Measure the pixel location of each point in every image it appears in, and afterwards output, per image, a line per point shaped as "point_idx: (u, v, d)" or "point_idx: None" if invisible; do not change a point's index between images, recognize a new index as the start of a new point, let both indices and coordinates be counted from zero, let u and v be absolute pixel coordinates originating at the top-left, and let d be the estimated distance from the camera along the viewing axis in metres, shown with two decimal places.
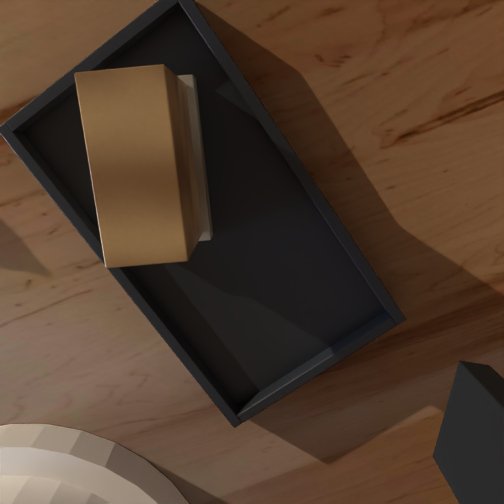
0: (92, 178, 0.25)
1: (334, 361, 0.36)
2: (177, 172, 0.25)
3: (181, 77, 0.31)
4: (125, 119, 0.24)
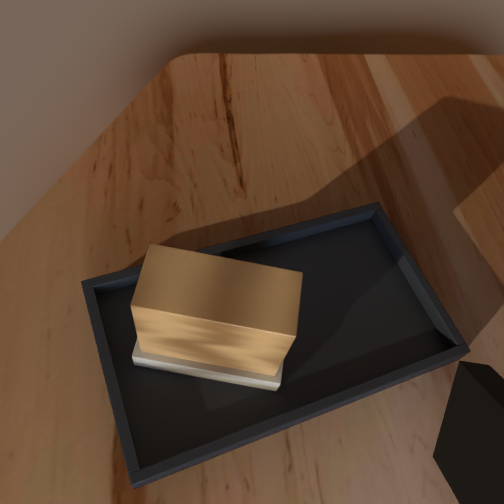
0: (217, 320, 0.29)
1: (409, 255, 0.43)
2: (230, 259, 0.31)
3: None
4: (179, 281, 0.30)
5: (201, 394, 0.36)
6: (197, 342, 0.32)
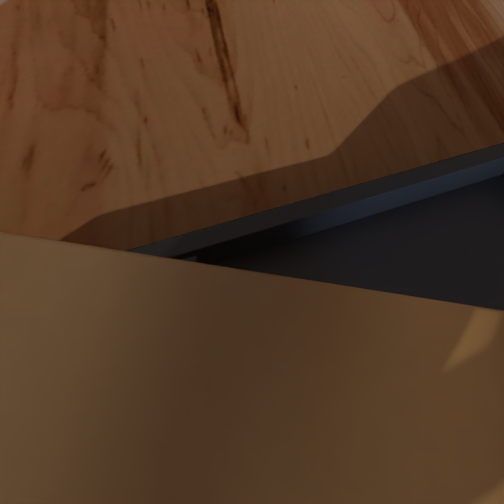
0: None
1: None
2: None
3: None
4: None
5: None
6: None
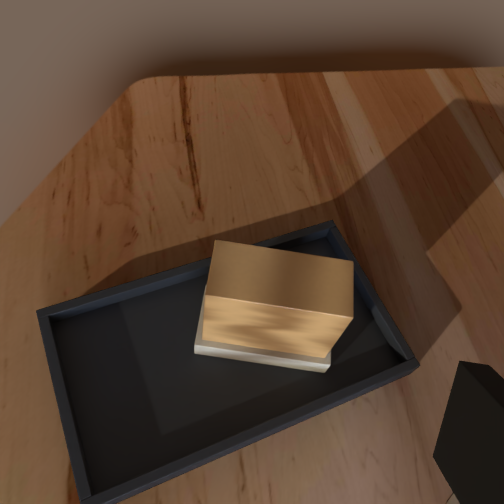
0: (282, 305, 0.32)
1: (361, 272, 0.44)
2: None
3: (205, 292, 0.41)
4: (245, 272, 0.33)
5: (155, 418, 0.37)
6: (258, 328, 0.35)
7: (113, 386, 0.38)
